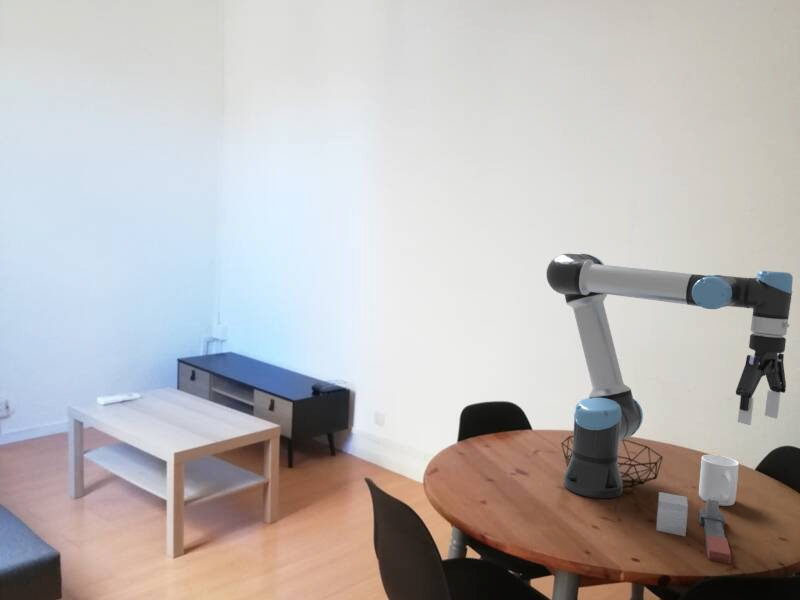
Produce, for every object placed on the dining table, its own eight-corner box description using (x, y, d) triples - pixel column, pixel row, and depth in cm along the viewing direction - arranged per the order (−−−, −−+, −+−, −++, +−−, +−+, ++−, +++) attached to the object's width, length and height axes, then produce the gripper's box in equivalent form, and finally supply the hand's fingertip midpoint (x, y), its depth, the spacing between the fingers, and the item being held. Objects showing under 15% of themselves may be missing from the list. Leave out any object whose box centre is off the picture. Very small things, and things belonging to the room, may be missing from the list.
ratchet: (732, 564, 126) (735, 536, 126) (705, 558, 128) (708, 531, 128) (721, 520, 147) (724, 496, 147) (698, 516, 149) (700, 492, 149)
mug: (711, 510, 153) (714, 469, 152) (693, 492, 165) (696, 453, 164) (747, 513, 152) (751, 471, 151) (726, 494, 164) (730, 455, 163)
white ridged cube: (656, 530, 140) (659, 501, 140) (656, 520, 146) (658, 491, 145) (685, 536, 138) (687, 506, 138) (684, 525, 144) (686, 496, 143)
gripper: (759, 339, 139) (748, 430, 141) (807, 335, 153) (797, 418, 155) (726, 334, 145) (716, 421, 147) (775, 330, 159) (766, 410, 161)
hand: (757, 420), depth 151 cm, fingers open, 13 cm apart
